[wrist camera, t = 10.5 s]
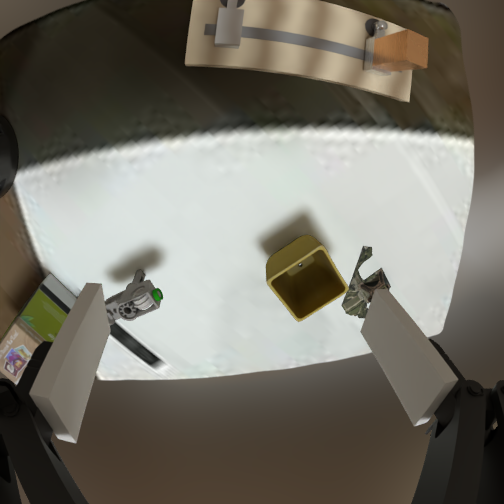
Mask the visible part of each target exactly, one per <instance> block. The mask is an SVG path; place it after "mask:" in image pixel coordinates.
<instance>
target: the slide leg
mask: <svg viewBox="0 0 504 504" xmlns="http://www.w3.org/2000/svg"><path fill="white" fill-rule="evenodd" d="M372 28H373V30H374V37H371V38H369V39H366V50H365V62H364V71H366V72H370V73H373V74H376V75H380V76H389V75H391V72H395V71H404V70H414V69H426V68H427V60H428V38H426V37H424V36H422V35H420V34H418V33H415V32H413V31H411V30H409V29H407V30H403V31H400V32H396V33H393V34H390V35H387V36H385V29H387V28H388V25H387V23H386V22H385V21H379V22H375V23H374V24H373V25H372Z"/></svg>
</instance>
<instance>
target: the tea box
mask: <svg viewBox="0 0 504 504" xmlns="http://www.w3.org/2000/svg"><path fill="white" fill-rule="evenodd" d="M76 300H77V298H76V297H75V296H74V295H73V294H72V293H71V292H70V291H69V290H68V289H66V288H65V287H64V286H63V285H62V284H61V283H60V282H59V281H58V280H57V279H56V278H55V277H54V276H53V275H52V274H51V273H50V274H49V275H48V276H47V277H46V278H45V280H44V281H43V282H42V283H41V284H40V285H39V287H38V288H37V289H36V290H35V292H34V293H33V294H32V295H31V297H30V298H29V299H28V300H27V302H26V303H25V304H24V306H23V307H22V308H21V310H20V311H19V313H18V314H17V316H16V317H15V319H14V320H13V321H12V323H11V324H10V326H9V327H8V329H7V331H6V332H5V334H4V335H3V337H2V339H1V340H0V371H1V372H2V373H3V374H4V375H5V376H7V377H8V378H9V379H10V380H12V381H13V382H14V383H15V384H18V382H19V380H20V378H21V376H22V374H23V372H24V370H25V368H26V367H27V364H28V362H29V360H31V356H32V354H33V352H34V350H35V349H36V348H37V347H38V346H39V345H40V344H41V343H42V342H43V341H49V342H54V340H55V338H56V336H57V334H58V332H59V331H60V329H61V327H62V325H63V323H64V321H65V319H66V318H67V316H68V314H69V312H70V310H71V309H72V307H73V305H74V303H75V302H76Z"/></svg>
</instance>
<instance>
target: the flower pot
mask: <svg viewBox="0 0 504 504" xmlns="http://www.w3.org/2000/svg"><path fill="white" fill-rule="evenodd" d="M300 263H301V264H302V266H299V264H300ZM266 281H267V285H268V286H269V287H270V289H271V290H272V291H273V292H274V294H275V295H276V296H277V297H278V298H279V300H280V301H281V302H282V303H283V305H284V306H285V307H286V308H287V310H288V311H289V312H290V313H291V315H292V316H293V317H294V319H295V320H296V321H298V322H300V321H302V320H304V319H306V318H307V317H309V316H310V315H312V314H313V313H315V312H317V311H318V310H320V309H321V308H323V307H324V306H326V305H328V304H329V303H331V302H332V301H334V300H336V299H337V298H339V297H340V296H342V295H343V294H345V293H346V292H347V291H348V290H349V287H348V285H347V284H346V282H345V281H344V279H343V278H342V276H341V274H340V273H339V271H338V270H337V268H336V266H335V264H334V262H333V261H332V259H331V257H330V256H329V254H328V252H327V250H326V248H325V247H324V246H323V245H322V244H321V243H320V242H319V241H317V240H316V239H315V238H314V237H312V236H310V235H303V236H301V237H299V238H297V239H296V240H294V241H293V242H291V243H290V244H288V245H287V246H285V247H284V248H282V249H281V250H279V251H278V252H276V253H275V254H274V255H272V256H271V257H270V258H269V259H268V261H267V264H266Z"/></svg>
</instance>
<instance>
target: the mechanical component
mask: <svg viewBox="0 0 504 504" xmlns="http://www.w3.org/2000/svg"><path fill="white" fill-rule="evenodd" d="M142 273H143V271H142V270H138V271H137V272H136V274H135V277H134V279H133V282H132V283H130V284H128V285H127V287H126V290H124V291H122V292H120V293H118V294H116V295H114V296H112V297H110V298H108V299H107V300H106V301H105V306H106V311H107V316H108V321H109V326H110V325H112V324H114V322H115V320H117V319H119V318H122V319H124V320H127V321H132V320H134V319H136V318H137V317H139V316H142V315H144V314H146V313H149V312H151V311H153V310H156V309H158V308H159V307H160V302H161V300H162V299H163V294H162V292H161V290H160V289H159V288H155V287H154V285H153V284H152V283H151V281H150V280H146V281H144V278H145V274H144V275H143V274H142ZM152 303H153V305H152V306H151V307H149V306H150V305H151V304H152ZM147 307H149V308H148V309H146V310H142V309H145V308H147Z"/></svg>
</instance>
